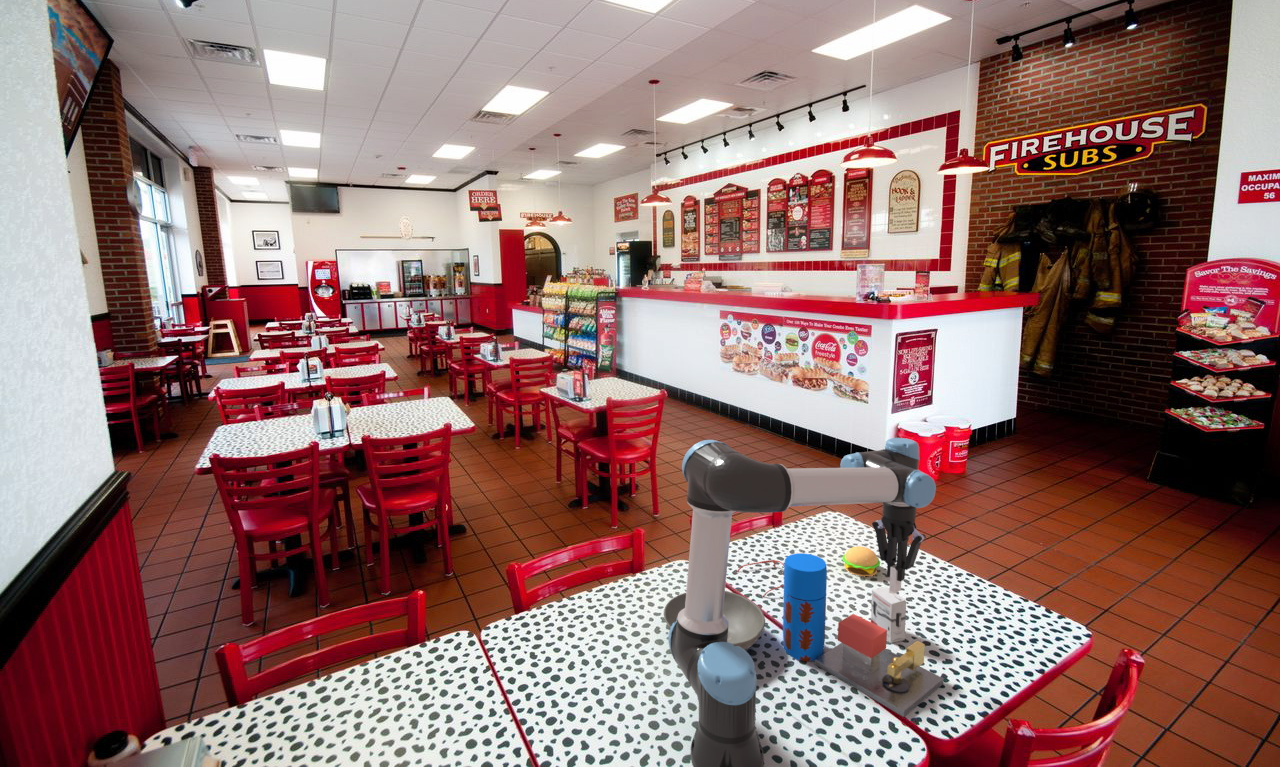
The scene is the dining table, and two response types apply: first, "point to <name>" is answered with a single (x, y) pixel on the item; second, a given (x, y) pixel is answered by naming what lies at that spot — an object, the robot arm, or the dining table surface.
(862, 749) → the dining table surface
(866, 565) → the hamburger
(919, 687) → the panel
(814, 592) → the thermos
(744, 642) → the bowl
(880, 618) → the ink box
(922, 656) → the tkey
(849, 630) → the cover
